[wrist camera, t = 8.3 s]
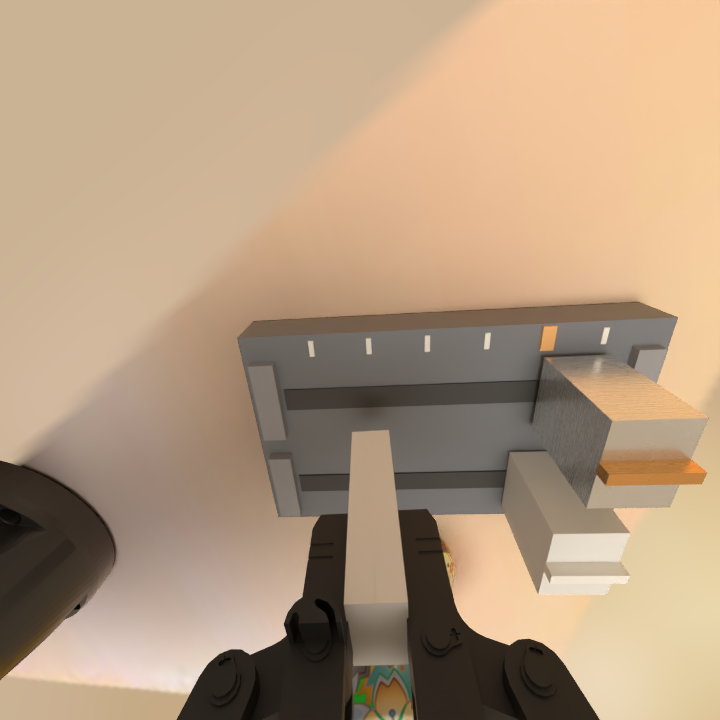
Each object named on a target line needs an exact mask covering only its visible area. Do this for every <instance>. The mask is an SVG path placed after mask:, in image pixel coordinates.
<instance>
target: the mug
mask: <svg viewBox="0 0 720 720" xmlns="http://www.w3.org/2000/svg"><path fill="white" fill-rule="evenodd" d="M442 550H443V554H444V559H445V563H446V568H447V572H448V576H449V581H450V585H451V587H452V583H453V580H454V574H455V568H454V563H453V560H452V558H451V556H450V555H449V553H448V552H447V551H446V549H445V548H444V547H442ZM352 686H353V693H354V720H413V709H412V710H411V680H410V670H409V664H404V665H370V666H353V678H352Z"/></svg>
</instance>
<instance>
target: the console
mask: <svg viewBox="0 0 720 720" xmlns="http://www.w3.org/2000/svg"><path fill="white" fill-rule="evenodd" d="M677 319H678V317H676V316H673V315H671V314H668V313H666V312H663V311H660V310H658V309H655V308H653V307H650V306H648V305H645V304H643V303H640V302H630V303H610V304H590V305H570V306H550V307H530V308H510V309H490V310H470V311H450V312H430V313H410V314H390V315H370V316H350V317H330V318H310V319H290V320H270V321H254V322H253V323H252V324H251V325H250V326H249V327H248V328H247V329H246V330H245V331H244V332H243V333H242V334H241V335H240V336H239V337H238V343H239V347H240V352H241V356H242V360H243V365H244V369H245V373H246V378H247V382H248V386H249V391H250V395H251V399H252V404H253V408H254V412H255V417H256V421H257V425H258V430H259V434H260V439H261V443H262V447H263V452H264V456H265V460H266V465H267V469H268V473H269V478H270V482H271V486H272V491H273V495H274V499H275V504H276V508H277V513H278V517H307V516H321V515H324V514H346V513H348V505H349V484H350V463H351V442H352V432H360V431H378V430H389V436H390V445H391V454H392V463H393V472H394V481H395V490H396V499H397V508H398V510H412V509H427V510H428V511H429V513H430V514H431V515H442V514H505V516H506V518H507V521H508V523H509V525H510V528H511V530H512V533H513V535H514V537H515V540H516V542H517V545H518V547H519V549H520V552H521V554H522V557H523V559H524V562H525V564H526V566H527V569H528V571H529V574H530V576H531V578H532V581H533V583H534V586H535V588H536V590H537V593H538V595H607V592H608V590H609V587H610V585H611V584H627V582H628V580H629V577H630V575H629V574H628V572H627V570H626V569H625V568H624V566H623V565H622V563H621V562H620V559H621V556H622V554H623V551H624V549H625V546H626V543H627V541H628V538H629V536H630V532H629V531H628V529H627V528H626V527H625V525H624V524H623V523H622V522H621V520H620V519H619V518H618V516H617V515H616V514H615V512H614V511H613V509H614V508H593V509H586V507H585V506H584V504H583V503H582V501H581V500H580V499H579V497H578V496H577V494H576V493H575V491H574V490H573V488H572V487H571V485H570V484H569V482H568V481H567V480H566V478H565V477H564V475H563V474H562V472H561V471H560V469H559V468H558V466H557V465H556V464H555V462H554V461H553V459H552V458H551V456H550V455H549V453H548V452H547V450H546V449H545V447H544V446H543V445H542V443H541V442H540V440H539V439H538V437H537V436H536V434H535V433H534V431H533V430H532V423H533V418H534V412H535V407H536V401H537V395H538V390H539V384H540V379H541V373H542V367H543V362H544V357H566V356H590V355H614V356H615V357H617V358H618V359H620V360H621V361H623V362H624V363H626V364H627V365H629V366H630V367H632V368H633V369H635V370H636V371H638V372H640V373H641V374H643V375H644V376H646V377H647V378H649V379H650V380H652V381H653V382H655V383H657V380H658V377H659V374H660V372H661V369H662V366H663V363H664V360H665V357H666V354H667V351H668V346H669V343H670V340H671V337H672V334H673V331H674V328H675V325H676V322H677Z"/></svg>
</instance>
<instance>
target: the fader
mask: <svg viewBox="0 0 720 720" xmlns="http://www.w3.org/2000/svg"><path fill="white" fill-rule="evenodd" d="M708 419H709V418H708V417H707V416H705V415H704V414H702V413H701V412H699V411H698V410H696V409H695V408H693V407H691V406H690V405H688V404H687V403H685V402H684V401H682V400H681V399H679V398H678V397H676V396H675V395H673V394H672V393H670V392H669V391H667V390H666V389H664V388H662V387H661V386H659V385H658V384H656V383H655V382H653V381H652V380H650V379H649V378H647V377H646V376H644V375H643V374H641V373H640V372H638V371H636V370H635V369H633V368H632V367H630V366H629V365H627V364H626V363H624V362H623V361H621V360H620V359H618V358H617V357H615V356H614V355H590V356H566V357H544V362H543V367H542V373H541V379H540V384H539V390H538V395H537V401H536V407H535V412H534V418H533V423H532V430H533V431H534V433H535V434H536V436H537V437H538V439H539V440H540V442H541V443H542V445H543V446H544V447H545V449H546V450H547V452H548V453H549V455H550V456H551V458H552V459H553V461H554V462H555V464H556V465H557V466H558V468H559V469H560V471H561V472H562V474H563V475H564V477H565V478H566V480H567V481H568V482H569V484H570V485H571V487H572V488H573V490H574V491H575V493H576V494H577V496H578V497H579V499H580V500H581V501H582V503H583V504H584V506H585V507H586V509H593V508H655V507H656V508H657V507H670V506H671V503H672V501H673V499H674V496H675V494H676V492H677V489H678V487H679V485H680V484H702V483H703V481H704V478H705V476H706V474H707V472H706V471H705V470H703V469H702V468H701V467H700V466H698V465H697V464H696V463H695V462H694V461H692V460H691V458H692V455H693V453H694V451H695V449H696V446H697V444H698V442H699V439H700V437H701V434H702V432H703V430H704V428H705V426H706V423H707V421H708Z"/></svg>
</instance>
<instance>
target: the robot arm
mask: <svg viewBox="0 0 720 720" xmlns="http://www.w3.org/2000/svg"><path fill="white" fill-rule="evenodd" d="M114 557H115V555H114V547H113V543H112V540H111V537H110V535H109V533H108V531H107V530H106V528H105V526H104V525H103V523H102V522H101V521H100V519H99V518H98V517H97V516H96V515H95V513H94V512H93V511H92V510H91V509H90V508H89V507H88V506H87V505H86V504H84V503H83V502H82V501H81V500H80V499H79V498H77V497H76V496H75V495H73V494H72V493H71V492H69V491H68V490H66V489H65V488H63V487H62V486H60V485H58V484H57V483H55V482H53V481H52V480H50V479H48V478H46V477H44V476H42V475H40V474H38V473H35V472H33V471H31V470H28V469H26V468H23V467H20V466H17V465H14V464H11V463H7V462H3V461H0V680H1V679H2V678H3V677H4V676H5V675H6V674H8V673H9V672H10V671H11V670H12V669H13V668H14V667H15V666H17V665H18V664H19V663H20V662H21V661H22V660H23V659H24V658H26V657H27V656H28V655H29V654H30V653H31V652H32V651H33V650H34V649H35V648H36V647H38V646H39V645H40V644H41V643H42V642H43V641H44V640H45V639H46V638H47V637H48V636H49V635H50V634H51V633H52V632H53V631H54V630H55V629H56V628H57V627H58V626H59V625H60V624H61V623H62V622H63V621H64V620H65V619H67V618H69V617H71V616H73V615H74V614H76V613H77V612H78V611H79V610H80V609H81V608H83V607H84V606H85V605H86V604H87V603H88V601H89V600H90V599H91V598H92V597H93V595H94V594H95V593H96V591H97V590H98V588H99V587H100V585H101V584H102V583H103V581H104V580H105V578H106V577H107V576H108V574H109V573H110V571H111V569H112V567H113V564H114ZM284 626H285V630H286V633H287V636H286V637H285V638H283V639H282V640H281V641H280V642H278V643H276V644H274V645H272V646H270V647H268V648H265V649H263V650H261V651H258V652H256V653H254V654H251V655H249V654H248V653H246V652H244V651H243V650H236V649H231V650H228V651H226V652H223V653H221V654H219V655H218V656H217V657H216V658H214V659H213V660H212V661H211V662H210V663H209V664H208V665H207V666H206V668H205V669H204V671H203V672H202V674H201V675H200V677H199V678H198V680H197V682H196V684H195V686H194V688H193V690H192V692H191V694H190V695H189V697H188V699H187V701H186V703H185V705H184V707H183V709H182V711H181V713H180V714H179V716H178V718H177V720H354V693H353V686H352V678H353V666H370V665H404V664H409V670H410V680H411V710H412V709H413V720H599V718H598V716H597V715H596V713H595V712H594V710H593V708H592V707H591V706H590V704H589V702H588V701H587V699H586V697H585V696H584V694H583V693H582V691H581V690H580V688H579V687H578V685H577V683H576V682H575V680H574V679H573V677H572V676H571V674H570V673H569V671H568V670H567V668H566V666H565V665H564V663H563V662H562V661H561V660H560V658H559V657H558V656H557V655H556V654H555V652H553V651H552V650H551V649H549V648H548V647H547V646H545V645H544V644H542V643H540V642H537V641H534V640H531V639H521V640H517V641H516V642H514V643H513V644H511V645H510V646H509V645H506V644H503V643H501V642H498V641H495V640H492V639H489V638H486V637H484V636H482V635H480V634H478V633H476V632H475V631H473V630H472V629H471V628H470V627H468V625H467V624H466V623H465V622H464V621H463V620H462V618H461V617H460V615H459V613H458V611H457V609H456V606H455V603H454V599H453V594H452V590H451V585H450V581H449V576H448V572H447V568H446V563H445V559H444V554H443V550H442V545H441V541H440V537H439V532H438V528H437V523H436V521H435V520H434V518H433V517H432V515H431V514H430V513H429V511H428V510H427V509H412V510H398V508H397V499H396V490H395V481H394V472H393V463H392V454H391V445H390V436H389V430H378V431H360V432H352V442H351V463H350V484H349V505H348V513H346V514H324V515H321V516H320V517H319V519H318V521H317V522H316V524H315V526H314V527H313V531H312V538H311V547H310V551H309V560H308V564H307V571H306V577H305V584H304V591H303V597H302V598H301V599H299V600H298V601H297V602H295V604H294V605H293V606H292V608H291V609H290V610H289V611H288V614H287V617H286V619H285V622H284Z"/></svg>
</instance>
